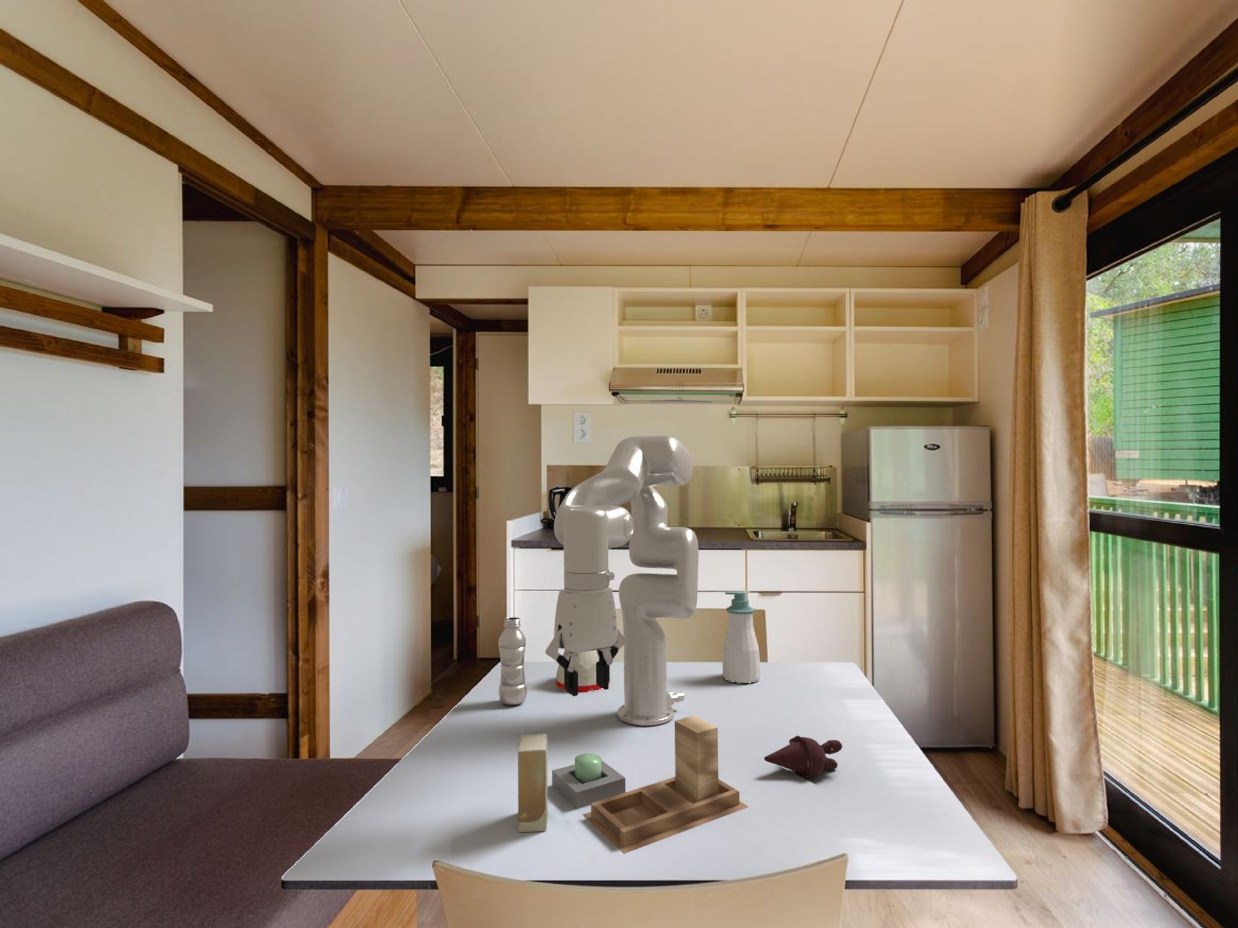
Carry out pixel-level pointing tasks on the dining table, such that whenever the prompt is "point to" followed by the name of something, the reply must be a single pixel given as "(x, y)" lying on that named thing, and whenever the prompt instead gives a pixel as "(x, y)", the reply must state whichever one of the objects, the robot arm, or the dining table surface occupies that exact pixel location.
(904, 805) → the dining table surface
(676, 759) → the block
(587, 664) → the cream and red dome
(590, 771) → the button
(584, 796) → the grey square holder
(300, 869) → the dining table surface
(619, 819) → the open wooden box
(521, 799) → the skincare box
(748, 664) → the soap bottle
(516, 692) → the plastic bottle
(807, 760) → the icecream
